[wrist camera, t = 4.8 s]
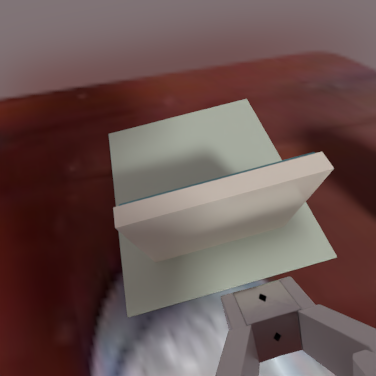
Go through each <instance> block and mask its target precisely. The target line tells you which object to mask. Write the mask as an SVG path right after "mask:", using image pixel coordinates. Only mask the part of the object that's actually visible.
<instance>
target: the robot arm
mask: <svg viewBox="0 0 376 376" xmlns="http://www.w3.org/2000/svg"><path fill="white" fill-rule="evenodd" d="M221 301H222V305H223V309H224V313H225V317H226V321H227V324H228V328H229V331H228V335H227V338H226V342H225V345H224V348H223V352H222V355H221V358H220V362H219V365H218V369H217V372H216V375H215V376H259V366H260V364H259V363H260V362H263V361H266V360H269V359H272V358H275V357H278V356H281V355H285V354H288V353H292V352H296V351H300V350H303V351H304V352H305V353H307V354H308V355H309V356H311V357H312V358H314V359H315V360H316V361H318V362H319V363H320V364H322V365H323V366H324V367H326V368H327V369H328V370H330V371H331V372H332V373H334V374H335V375H337V376H376V329H375V328H373V327H370V326H368V325H366V324H363V323H361V322H359V321H357V320H354V319H352V318H350V317H347V316H345V315H343V314H341V313H338V312H336V311H334V310H331V309H329V308H327V307H325V306H322V305H320V304H319V305H315V304H314V303H313V301H312V300H311V299H310V298H309V297H308V296H307V295H306V293H305V292H304V291H303V290H302V289H301V288H300V287H299V285H298V284H297V283H296V282H295V281H294V280H293V279H292V278H291V277H286V278H282V279H279V280H276V281H273V282H270V283H266V284H263V285H260V286H256V287H253V288H249V289H245V290H241V291H238V292H234V293H233V294H232V293H231V294H227V295H223V296H221Z"/></svg>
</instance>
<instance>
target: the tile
mask: <svg viewBox="0 0 376 376" xmlns="http://www.w3.org/2000/svg"><path fill="white" fill-rule="evenodd" d="M333 169H334V168H333V166H332V165H331V163H330V162H329V160H328V159H327V158H326V156H325V155H324V153H323V152H318V153H315V152H312V153H308V154H305V155H301V156H297V157H293V158H290V159H286V160H282V161H278V162H275V163H271V164H267V165H263V166H260V167H256V168H252V169H248V170H245V171H241V172H237V173H234V174H230V175H226V176H222V177H219V178H215V179H211V180H207V181H204V182H200V183H196V184H192V185H189V186H185V187H181V188H178V189H174V190H170V191H166V192H163V193H159V194H155V195H151V196H148V197H144V198H140V199H136V200H133V201H129V202H125V203H121V204H119V206H117V207H113V212H114V222H115V228H116V229H117V230H118V231H119V232H120V233H121V234H123V235H124V236H125V237H126V238H127V239H129V240H130V241H131V242H132V243H133V244H134V245H136V246H137V247H138V248H139V249H140V250H141V251H143V252H144V253H145V254H146V255H147V256H148V257H150V258H151V259H152V260H153V261H154V262H160V261H163V260H167V259H170V258H174V257H178V256H181V255H185V254H188V253H192V252H195V251H199V250H203V249H206V248H210V247H213V246H217V245H220V244H224V243H227V242H231V241H235V240H238V239H242V238H245V237H249V236H252V235H256V234H260V233H263V232H267V231H270V230H274V229H277V228H281V227H284V226H285V225H286V224H287V222H288V221H289V220H290V219H291V218H292V217H293V215H294V214H295V213H296V212H297V211H298V210H299V209H300V207H301V206H302V205H303V204H304V203H305V202H306V200H307V199H308V198H309V197H310V196H311V195H312V194H313V192H314V191H315V190H316V189H317V188H318V187H319V185H320V184H321V183H322V182H323V181H324V180H325V179H326V177H327V176H328V175H329V174H330V173H331V172H332V170H333Z"/></svg>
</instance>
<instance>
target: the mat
mask: <svg viewBox="0 0 376 376" xmlns="http://www.w3.org/2000/svg"><path fill="white" fill-rule="evenodd" d="M109 144H110V154H111V163H112V173H113V183H114V193H115V202H116V207H117V206H119V204H121V203H125V202H129V201H133V200H136V199H140V198H144V197H148V196H151V195H155V194H159V193H163V192H166V191H170V190H174V189H178V188H181V187H185V186H189V185H192V184H196V183H200V182H204V181H207V180H211V179H215V178H219V177H222V176H226V175H230V174H234V173H237V172H241V171H245V170H248V169H252V168H256V167H260V166H263V165H267V164H271V163H275V162H278V161H282V160H281V158H280V156H279V154H278V153H277V151H276V149H275V147H274V146H273V144H272V142H271V140H270V139H269V137H268V135H267V133H266V132H265V130H264V128H263V126H262V125H261V123H260V121H259V119H258V118H257V116H256V114H255V112H254V111H253V109H252V107H251V105H250V104H249V102H248V100H247V99H244V100H240V101H236V102H232V103H228V104H224V105H220V106H216V107H212V108H208V109H205V110H201V111H197V112H193V113H189V114H185V115H181V116H177V117H173V118H169V119H165V120H161V121H157V122H153V123H150V124H146V125H142V126H138V127H134V128H130V129H126V130H122V131H118V132H114V133H110V134H109ZM119 241H120V251H121V261H122V270H123V280H124V290H125V299H126V309H127V317H132V316H136V315H139V314H143V313H146V312H150V311H153V310H157V309H160V308H164V307H167V306H171V305H174V304H177V303H181V302H184V301H188V300H191V299H195V298H198V297H202V296H205V295H209V294H212V293H216V292H219V291H222V290H226V289H229V288H233V287H236V286H240V285H243V284H247V283H250V282H254V281H257V280H261V279H264V278H268V277H271V276H274V275H278V274H281V273H285V272H288V271H292V270H295V269H299V268H302V267H306V266H309V265H313V264H316V263H319V262H323V261H326V260H330V259H333V258H336V257H337V256H336V254H335V252H334V251H333V249H332V247H331V245H330V244H329V242H328V240H327V238H326V237H325V235H324V233H323V231H322V230H321V228H320V226H319V224H318V223H317V221H316V219H315V217H314V216H313V214H312V212H311V210H310V209H309V207H308V205H307V203H306V202H305V203H304V204H303V205H302V206H301V207H300V209H299V210H298V211H297V212H296V213H295V214H294V215H293V217H292V218H291V219H290V220H289V221H288V222H287V224H286V225H285V226H284V227H281V228H277V229H274V230H270V231H267V232H263V233H260V234H256V235H252V236H249V237H245V238H242V239H238V240H235V241H231V242H227V243H224V244H220V245H217V246H213V247H210V248H206V249H203V250H199V251H195V252H192V253H188V254H185V255H181V256H178V257H174V258H170V259H167V260H163V261H160V262H154V261H153V260H152V259H151V258H150V257H148V256H147V255H146V254H145V253H144V252H143V251H141V250H140V249H139V248H138V247H137V246H136V245H134V244H133V243H132V242H131V241H130V240H129V239H127V238H126V237H125V236H124V235H123V234H121V233H120V232H119Z"/></svg>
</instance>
